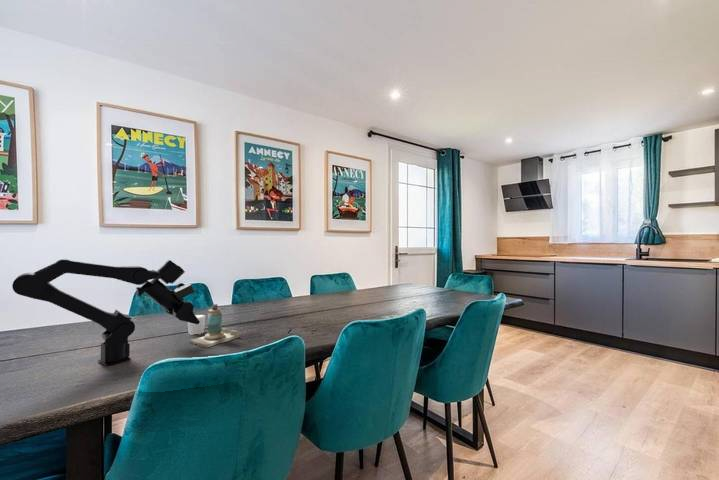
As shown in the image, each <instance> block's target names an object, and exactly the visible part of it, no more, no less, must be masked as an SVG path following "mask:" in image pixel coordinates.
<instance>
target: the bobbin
mask: <svg viewBox="0 0 719 480" xmlns="http://www.w3.org/2000/svg"><path fill="white" fill-rule="evenodd" d="M222 315H223V313H222V308H218V304H212V307H211V308H210V309H208V314H207V333H205V335H204V336H205V339H208V340H214V339H220V338H223V337H224V332H221V331H222V328H223V327H222V322H223V321H222Z"/></svg>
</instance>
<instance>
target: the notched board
mask: <svg viewBox="0 0 719 480" xmlns="http://www.w3.org/2000/svg"><path fill="white" fill-rule="evenodd" d="M221 332H224V337H223V338H220V339H214V340H208V339H205V335H204V336H201V337H196V338H192V339H190V340H189V344H192V343H193V344H192V345H195V344H197V345H196V346H199V347H204V348H209V347H212V346H215V345H219V344H223V343H225V342H228V341H231V340H235V339H239V330H235V329H231V330H230V331H229V332H228V328H226V327H222V331H221Z"/></svg>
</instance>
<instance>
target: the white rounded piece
mask: <svg viewBox="0 0 719 480" xmlns="http://www.w3.org/2000/svg"><path fill="white" fill-rule="evenodd" d="M195 316H196V317H197V319H198V320H199V321H200V323H199V324H194V323H190V322H187V329H188V330H187V331H188V335H189V334H190V336H195V335H194V334H199V335H201V333H202V334H204V333H203V332H205V325H206V324H205V323H206V315H205V314H195Z"/></svg>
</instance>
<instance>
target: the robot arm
mask: <svg viewBox="0 0 719 480" xmlns="http://www.w3.org/2000/svg"><path fill="white" fill-rule="evenodd" d="M185 272H186V271H185V270H184V269H183V268H182V267H181V266H180V265H178V264H176V263H175V262H173V261H172V260H170V259H168V260H166V262H165V263H164V264H163V265H162V266H161V267H160V268H158V269H157V270H155V269H151V270H149V269H148V268H146V267H143V266H138V265H137V266H135V265H132V266H130V265H129V266H127V265H126V266H115V265H114V266H113V265H106V264H99V263H98V264H97V263H90V262H84V261H83V262H82V261H78V260H77V261H76V260H70V259H67V258H62V259H59V260H57V261H56V262H54V263H52V264H50V265H48V266H46V267H45V266H44V267H42V268H41V269H39V270H37V271H35V272H26V273H22V274H19V275H18V276H17V277H16V278H15V279H14V280H13V282H12V290H13V291H14V293H16V294H17V295H19V296H23V297H26V298H30V299H32V300H33V299H34V300H38V301H44V302H48V303H50V304H53V305H55V306H57V307H59V308H62V309H65V310H67V311H68V312H71V313H73V314H76V315H78V316H81V317H82V318H85V319H87V320H90V321H91V322H94V323H96V324H98V325H99V326H101V327H103V329H104V332H103V333H101V337H102V339H103V341H104V342H101V343H100V359H99V360H97V363H99V364H102V365H103V366H107V367H109V366H113V365H116V364H119V363H122V362H123V363H124V362H126V361H129V360H131V357H130V354H131V353H130V351H131V350H130V347H131V344H130V342H129V337H130V336H131V335H132V334H133V333H134V331H135V330H136V324H135V322H134V321H133V320H132V317H131V316H130V315H129V314H126V313H125V314H124V313H123V312H121V311H119V310H118V309H115V310H114V312H109V311H106V310H103V309H101V308H98V307H96V306H94V305H92V304H90V303H88V302H86V301H84V300H82V299H80V298H78V297H75V296H73V295H71V294H69V293H67V292H65V291H62V290H61V289H59V288H57V287H56V286H55V285H53V284H52V283H51V282H52V281H54V280H56V279H57V278H59V277H61V276H63V275H65V274H72V275H79V276H80V275H82V276H89V277H98V278H108V279H116V280H118V281H121V282H126V283H128V284H133V285H137V287H135V289H136V293H135V294H136V296H137V297H141V296H142V295H143V294H146V296H148V297H149V298H150V299H152V300H153V301H154V302H155V303H156V304H158V305H159V306H160V307H161V309H162V310H163V311H164V312H165V313H167V314H168V315H172V316H173V317H174V318H176V319H177V320H179V321H181V322H186V323H188V322H190V323H194V324H199V323H200V321H199V320H198V319H197V317H196V316H195V315H196V314H195V312H194V309H195V304H193V303H192V302H191V301H188V300H185V298H186V297H188V296H189V295H192V294H195V293H196V291H195V288H194V287H193V285H192V283H185V284H184V283H183V282H179V283H177V284H176V288H175V289H173V290H172V289H171V288H169V287H168V286H167V285H169V284H171V285H172V284H174V283H175V282H176V281H177V280H178V279H179V278H180V277H181V276H183V274H184V273H185ZM150 280H151V281H150ZM160 280H161V281H160ZM165 284H166V285H165Z"/></svg>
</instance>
